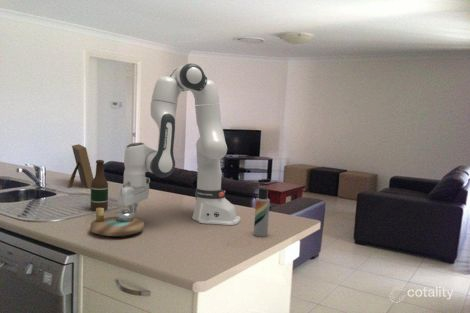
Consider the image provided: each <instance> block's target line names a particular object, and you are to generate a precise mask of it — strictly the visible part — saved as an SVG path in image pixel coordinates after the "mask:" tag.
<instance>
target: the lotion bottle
mask: <svg viewBox="0 0 470 313" xmlns="http://www.w3.org/2000/svg"><path fill="white" fill-rule="evenodd" d="M268 196H269V188H268V187H264V186H259V188H258V195H257V197H256V198H255V206H254V210H255V211H254V221H253V222H254V224H253V235H254V236H255V237H260V238H263V237H264V238H265V237H267V236H268V235H269V234H268V232H269V220H270V219H269V216H270V202H271V201H270V198H268Z"/></svg>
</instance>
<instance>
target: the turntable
mask: <svg viewBox="0 0 470 313" xmlns="http://www.w3.org/2000/svg"><path fill="white" fill-rule="evenodd" d="M144 226H145V224H144V221H143V220H142V219H140V218H136V217H134V220H133V221H130V222H119V221H116V216H107V217H105V211H104V208H96V212H95V220H93V221H92V222H91V223H90V231H91V232H92V233H93V234H96V235H100V236H102V235H106V236H123V235H130V234H132V235H135V234H137V233H140V232H142V231H143V230H144ZM106 236H105V237H106ZM130 236H131V235H130Z"/></svg>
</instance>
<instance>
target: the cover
mask: <svg viewBox="0 0 470 313" xmlns="http://www.w3.org/2000/svg"><path fill="white" fill-rule="evenodd" d="M115 217H116V221H119V222H130V221H133V220H134V218H135V213H134V212H133V211H130V209H129V208H128V209H127V208H126V209H121V210H118V211H116V213H115Z"/></svg>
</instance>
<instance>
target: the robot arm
mask: <svg viewBox="0 0 470 313" xmlns="http://www.w3.org/2000/svg"><path fill="white" fill-rule="evenodd" d="M204 72H205V71H204V69H203V68H202V67H201V66H200V65H198V64H195V63H187V64H182V65H180V66H179V67H177V68H176V69H175V70H173V71H172V73H171V74H170V76H167V75H166V76H161V77H159V78H157V81H156V82H155V84H154V87H153V90H152V91H153V92H152V95H151V101H150V117H151V118H152V119H153V121H154V122H155V124H156V125H157V128H158V139H157V140H158V142H157V150H155V149H153V148H152V147H149V146H148V145H146V144H145V143H144V142H132V143H129V144H128V145H126V146H125V150H124V159H123V166H124V171H123V183H122V185H121V186H120V188H119V189H118V196H117V206H118V207H121V208H122V207H123V208H126V207H128V210H129V211H133V212H134V214H136V213H137V211H138V207H139V203H140V202H142V201H145V200H147V199H148V198H149V194H150V182H151V179H150V177H147V176H146V173H147V172H148V173H151V174H153V175H155V176H156V177H158V178H162V179H163V178H167V177H170V176H171V175H172V174H173V172H174V170H175V168H176V160H175V157H174V147H175V135H176V134H175V131H176V114H177V108H178V100H179V97H180V94H181V92H188V91H189V92H191V93H192V95H193V98H194V108H195V110H194V111H195V119H196V120H195V121H196V125H197V127H198V128H197V129H198V134H199V138H198V139H197V141H196V144H195V147H196V164H197V180H196V181H197V182H196V188H195V206H194V210H193V214H192V217H191V218H192V219H193V220H194V221H196V222H198V223H199V224H207V225H224V226H235V225H238V224H239V223H240V222H241V216H239V215H237V209H236V207H235V205H234V204H233V203H231V201H229V200H228V199H226V196H225V194H226V190H223V189H222V173H223V172H222V168H221V161H220V160H221V159H223V158H224V157H226V155H227V152H228V146H227V143H226V138H225V133H224V129H223V125H222V118H221V107H220V99H219V98H220V97H219V93H218V92H219V91H218V88H217V85H216V83H215V82H214V81H213V80H210V79H208V77H207V76H206V74H205V73H204Z"/></svg>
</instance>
